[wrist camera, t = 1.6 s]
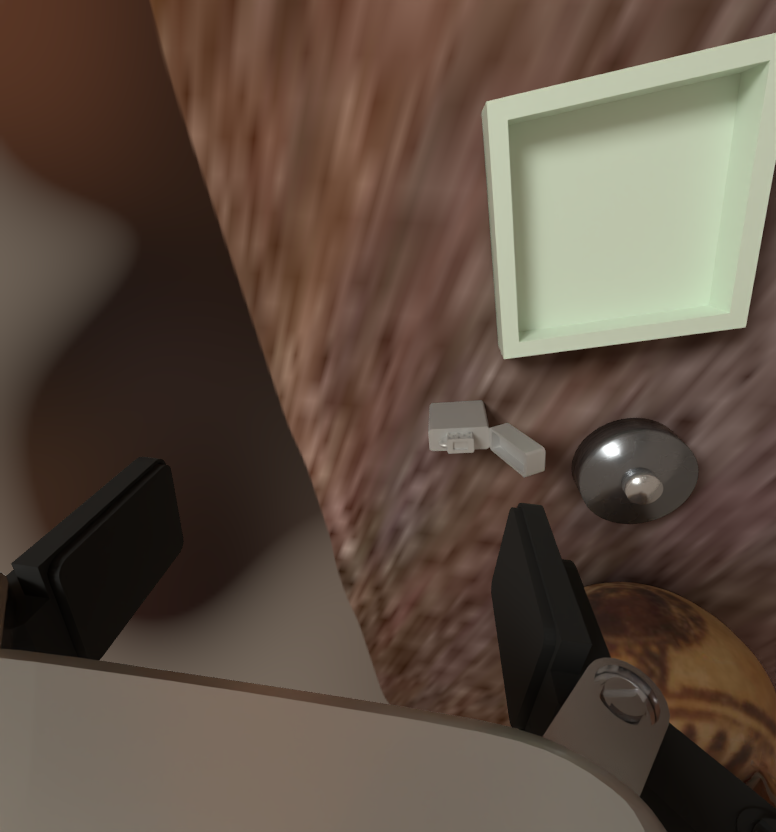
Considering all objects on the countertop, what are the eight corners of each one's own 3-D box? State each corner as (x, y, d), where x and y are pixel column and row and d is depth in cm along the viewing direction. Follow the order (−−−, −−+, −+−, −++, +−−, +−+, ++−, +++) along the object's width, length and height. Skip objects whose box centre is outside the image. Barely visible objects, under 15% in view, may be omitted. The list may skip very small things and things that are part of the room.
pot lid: (687, 412, 31) (715, 436, 28) (675, 500, 35) (699, 531, 31) (571, 424, 33) (586, 448, 29) (571, 507, 36) (584, 537, 33)
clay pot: (504, 719, 45) (543, 976, 26) (499, 547, 44) (537, 677, 24) (702, 733, 42) (919, 1036, 23) (703, 549, 41) (932, 700, 22)
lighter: (431, 423, 34) (428, 481, 27) (429, 403, 33) (426, 458, 26) (523, 418, 33) (546, 478, 26) (524, 398, 32) (547, 453, 25)
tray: (756, 48, 22) (799, 27, 19) (716, 315, 28) (745, 327, 25) (481, 112, 25) (486, 101, 22) (498, 345, 31) (503, 359, 28)
